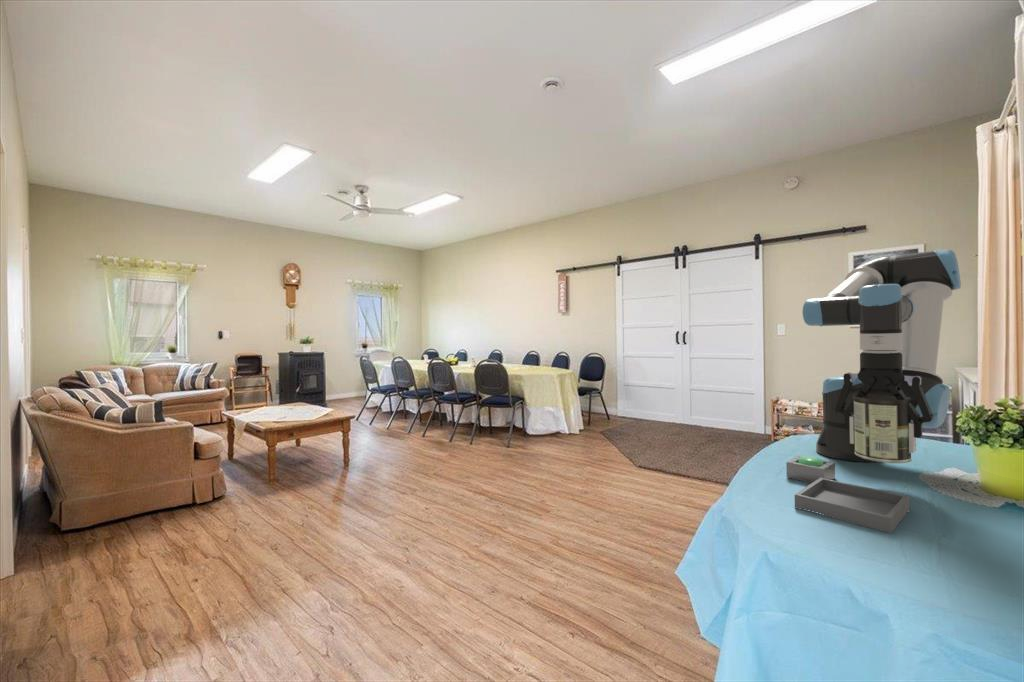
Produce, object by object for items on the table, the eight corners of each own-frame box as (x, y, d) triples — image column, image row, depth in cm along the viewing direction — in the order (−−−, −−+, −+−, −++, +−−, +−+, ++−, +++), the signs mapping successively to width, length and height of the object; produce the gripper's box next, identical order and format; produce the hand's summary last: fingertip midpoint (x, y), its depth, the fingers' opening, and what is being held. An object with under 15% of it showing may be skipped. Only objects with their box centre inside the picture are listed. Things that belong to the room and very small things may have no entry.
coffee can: (892, 450, 106) (892, 392, 106) (923, 464, 96) (922, 400, 95) (844, 449, 108) (843, 393, 108) (869, 463, 98) (868, 400, 98)
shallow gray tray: (820, 489, 102) (820, 477, 102) (909, 509, 90) (909, 496, 90) (794, 507, 92) (794, 494, 92) (890, 533, 80) (890, 518, 80)
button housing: (798, 470, 115) (798, 455, 115) (835, 478, 109) (834, 462, 109) (786, 477, 110) (786, 461, 110) (824, 486, 104) (823, 469, 104)
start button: (802, 470, 113) (802, 455, 113) (825, 475, 109) (825, 459, 109) (795, 474, 110) (795, 459, 110) (818, 479, 106) (818, 463, 106)
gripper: (817, 351, 108) (819, 441, 109) (946, 354, 90) (946, 460, 91) (828, 349, 112) (829, 435, 113) (952, 351, 95) (952, 453, 95)
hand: (881, 446), depth 102 cm, fingers closed on coffee can, 10 cm apart
